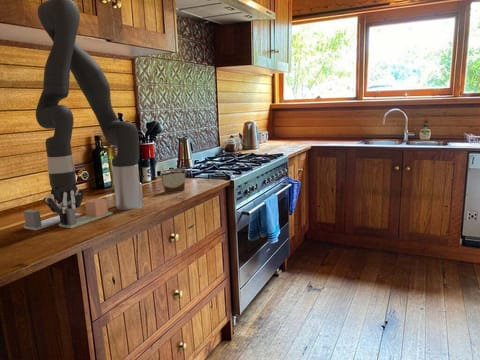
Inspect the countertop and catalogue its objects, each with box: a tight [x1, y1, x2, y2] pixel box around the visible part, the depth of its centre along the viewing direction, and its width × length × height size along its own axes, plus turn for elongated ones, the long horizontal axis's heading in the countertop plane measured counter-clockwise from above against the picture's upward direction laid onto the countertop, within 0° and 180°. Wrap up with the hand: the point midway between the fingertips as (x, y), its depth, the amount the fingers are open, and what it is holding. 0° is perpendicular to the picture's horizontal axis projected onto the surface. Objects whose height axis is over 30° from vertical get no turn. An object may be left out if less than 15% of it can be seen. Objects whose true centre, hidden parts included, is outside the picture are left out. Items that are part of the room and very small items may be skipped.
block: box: [84, 197, 109, 217], centre depth 128 cm, size 5×5×5 cm
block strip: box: [58, 207, 114, 229], centre depth 124 cm, size 17×6×6 cm, turn 152°
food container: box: [159, 168, 187, 195], centre depth 168 cm, size 12×6×10 cm, turn 123°
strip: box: [23, 209, 82, 231], centre depth 123 cm, size 17×6×6 cm, turn 152°
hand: (68, 222), depth 119 cm, fingers closed on block strip, 2 cm apart
